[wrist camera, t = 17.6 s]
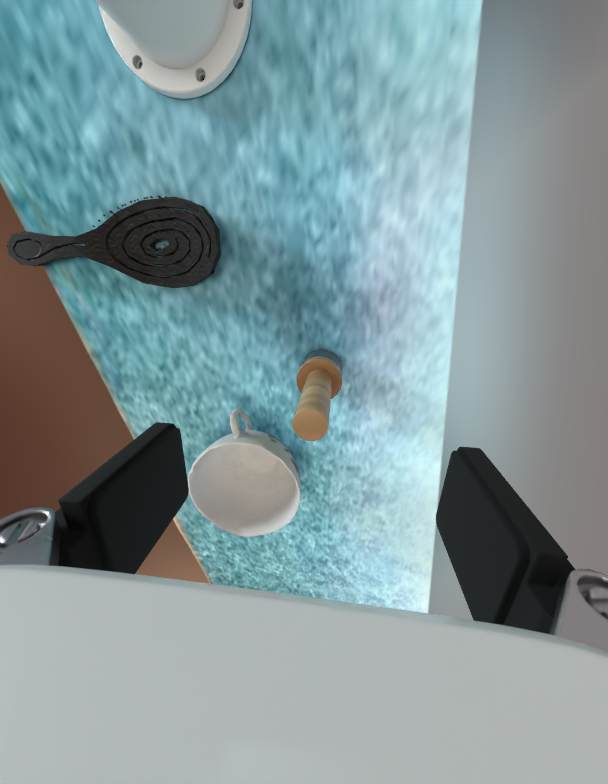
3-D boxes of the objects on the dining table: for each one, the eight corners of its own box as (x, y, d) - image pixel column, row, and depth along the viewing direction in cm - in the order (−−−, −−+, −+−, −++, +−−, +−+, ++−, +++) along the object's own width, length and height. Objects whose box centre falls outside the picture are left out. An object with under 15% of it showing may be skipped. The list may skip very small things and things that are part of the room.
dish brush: (296, 355, 34) (269, 405, 21) (335, 344, 33) (332, 388, 20) (308, 391, 35) (290, 458, 22) (346, 381, 34) (350, 445, 21)
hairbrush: (-31, 202, 29) (206, 184, 25) (9, 210, 32) (224, 195, 28) (3, 291, 32) (218, 288, 28) (36, 289, 36) (233, 286, 31)
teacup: (311, 491, 41) (305, 539, 33) (225, 492, 42) (201, 537, 35) (300, 389, 35) (289, 420, 28) (202, 395, 37) (168, 424, 30)
